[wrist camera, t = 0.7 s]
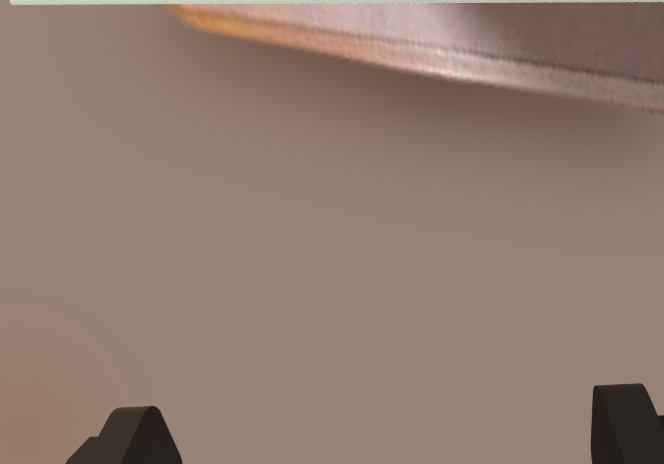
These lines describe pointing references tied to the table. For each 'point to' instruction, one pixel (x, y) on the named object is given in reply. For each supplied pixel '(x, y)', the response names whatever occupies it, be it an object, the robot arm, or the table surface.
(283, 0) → the stand
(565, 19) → the table surface
